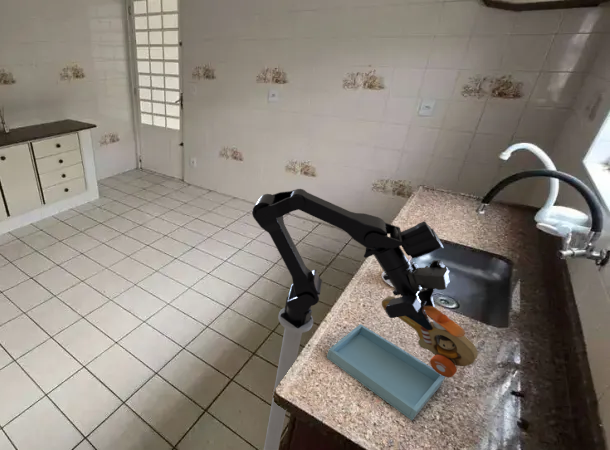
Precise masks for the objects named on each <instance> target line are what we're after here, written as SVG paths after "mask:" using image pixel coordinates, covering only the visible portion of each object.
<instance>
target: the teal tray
mask: <svg viewBox="0 0 610 450" xmlns="http://www.w3.org/2000/svg"><path fill="white" fill-rule="evenodd" d="M326 359H327V360H329V361H330V362H331V363H333V364H334V365H336V366H337V367H338V368H339V369H341V370H343V371H344V373H346V374H348V375H349V376H351V377H352V378H353V379H355V380H356V381H358V382H359V383H360V384H362V385H363V386H364V387H365V388H367V389H368V390H370V391H371V392H372V393H374V394H375V395H377V396H378V397H379V398H380V399H382V400H383V401H384V402H385V403H388V404H389V405H390V406H391V407H392V408H394V409H396V410H397V411H398V412H400V413H401V414H402V415H404V416H405V417H407V419H409V420H410V421H413V420H414V419H415V418H416V417H417V416H418V414H419V413H420V412H421V410H422V409H423V408H424V407H425V405H426V404H428V402H429V401H430V399H431V398H432V397H433V396H434V394H435V393H436V392H437V390H438V389H439V388H440V387H441V386H442V384H443V382H444V380H445V378H446V377H445V376H443V375H441V374H439V373H438V372H436V371H435V370H434V369H433V367H432V366H431V365H429V364H427V363H425V362H424V361H423V360H421V359H419V358H417V357H416V356H414V355H412V354H411V353H410V352H408V351H406V350H405V349H403V348H401V347H399V346H397V345H396V344H394V343H393V342H391V341H390V340H388V339H387V338H385V337H383V336H381V335H379V334H378V333H376V332H375V331H373V330H372V329H369V328H368V327H367V326H365V325H363V324H361V323H359V324H358V325H356V326H355V328H353V329H352V330H351V331H350V332H348V333H347V334H346V335H344V337H342V338H341V339H340V340H338V341H337V342H336V343H335V344H333V345H332V346H331V347H330V348H328V351H327V354H326Z"/></svg>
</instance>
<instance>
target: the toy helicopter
mask: <svg viewBox="0 0 610 450" xmlns="http://www.w3.org/2000/svg"><path fill="white" fill-rule="evenodd" d="M394 298H396V297H395V296H391V295H389V296H386V297H385V298H383V299H382V300H381V306H382V308H383V310H384V311H385V309H386V306H387V305H388V303H389V302H390V301H391V299H394ZM424 310H425V312H426V314H427V316H428V318H430V317H431V318H432V319H433V320H432V319H431V318H430V319H431V320H432V321H430V323H431V325H432V327H433V329H432V330H427V329H425V328H424V327H422V326H421V325H419V324H418V323H416V322H415V321H413V320H412V319H410V318H408V317H407V316H401V317H397V318H398V319H400V320H401V321H402V322H404V323H405V324H406V325H407V326H409V327H410V328H412V329H413V330H414V331H415V332H416V333H417V336H418V340H417V343H418V345H419V347H420V348H422V349H424V350H427V351H429V352H430V353H431V354H433V356H432V357H431V358H430V360H429V364H430V367H432V368H433V369H434V370H435V371H436V372H438V373H439V374H441V375H443V376H445V378H452V377H454V376H455V374H456V373H457V372H458V368H457V367H469V366H471V365H472V364H473V363H474V362H475V361H476V360H477V358H478V356H479V352H478V348H477V347H476V345H475V344H474V343H473V342H472V341H471V340H470V338H468V337H467V336H466V330H465V329H464V328H462V327H461V326H460V325H459V324H458V323H456V322H455V321H454V320H453V319H452V318H451V317H449V316H448V315H447V314H445V313H443V312H442V311H441V310H439V309H438V308H436V306H435V307H433V306H425V307H424Z"/></svg>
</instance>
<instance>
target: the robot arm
mask: <svg viewBox="0 0 610 450" xmlns="http://www.w3.org/2000/svg"><path fill="white" fill-rule="evenodd" d="M295 211H301V212H303V213H305V214H307V215H309V216H312V217H313V218H315V219H316V218H317V219H318V220H320V221H323V222H324V223H327V224H328V225H332V226H333V227H335V228H338V229H340V230H342V231H344V232H345V233H346V234H348V236H350V237H351V238H352V239H353V240H354V241H355V242H356V243H358V244H360V245H361V246H363V247H364V248H365V252H364V254H363V258H365V259H366V258H369V257H372V256H374V258H375V260H376V261H377V263H378V264H379V266H380V268H381V269H382V272H385V275H384V276H383V278H384V279H385V280H390V282H391V283H392V285H393V287H392V288H394V289H393V290H392V293H393V296H394V297H395V296H399V297H395V298H394V299H391V301H390V302H389V303H388V305H387V306H386V309H385V310H384V311H385V313H386V314H387V316H388V318H390V319H396V318H398V317H401V316H407V317H408V318H410V319H412V320H413V321H415V322H416V323H418V324H419V325H421V326H422V327H424V328H425V329H427V330H432V329H433V327H432V325H431V323H430V322H431V321H430V319H431V320H432V321H433V319H432V318H431V317H429V316H428V315H427V314H426V312H425V310H424V307H425V306H433V307H435V308H436V305H435V302H434V297H433V294H434V292H435V290H437V291H442V290H443V291H444V290H447V288H448V285H449V284H450V282H451V281H450V277H449V273H450V269H449V268H448V266H446V265H445V264H444V262H443V261H442V260H441V259H439V260H438V259H433V260H431V262H430V265H429V266H428V265H425V266H424V267H420V266H419V265H418V264H417V263H416V262H414V261H411V262H410V261H409V259H408V257H409V256H410V257H411V258H412V259H417V258H420V257H422V256H425V255H428V254H430V253H433V252H436V251H438V250H439V251H440V250H442V249H444V245H443V243H442V241H441V240H440V237H439V236H438V235H437V233H436V230H434V228H431V226H430V225H429V224H427V222H426V221H421V222H419V223H417V224H416V225H413V226H411V227H409V228H407V229H404V230H401V227H400V226H397V225H394V224H391V223H388V222H385V221H384V219H383V218H381V217H378V216H376V215H375V216H374V215H372V214H369V213H363V212H362V213H361V212H354V211H350V210H349V209H346V208H343V207H341V206H339V205H336V204H334V203H332V202H330V201H329V200H325V199H323V198H320V197H319V196H316V195H314V194H312V193H310V192H307V191H306V190H305V189H303V188H296V189H293V190H290V191H289V190H288V191H279V192H277V193H273V194H271V193H265V194H263V195H261V196H260V197H259V198H258V200H257V201H256V203H255V204H254V206H253V207H252V212H251V215H252V218H253V219H254V220H255V222H256V223H257V224H258V225H259V227H260V228H261V229H262V230H264V231H265V232H267V233H268V235H269V236H270V238H271V240H272V242H273V244H274V246H275V248H276V249H277V251H278V253H279V256H280V257H281V259H282V261H283V263H284V265H285V267H286V268H287V271H288V272H289V274H290V276H291V279H292V284H291V285H290V289H289V293H288V296H286V298H285V305H284V308H285V310H284V312H283V313H282V314H281V315H280V316H281V317H282V318H283V319H285V320H286V321H288V322H289V323H290V324H292V325H293V326H295V327H296V328H300V327H301V326H303V325H305V324H307V323H308V322H310V320H311V319H312V318H313V316H312V313H313V310H312V307H313V306H315V305H318V303H319V301H320V295H321V290H322V283H323V279H322V278H321V277H320V276H319V274H318V270H317V269H313V270H310V269H309V268H308V267H307V266H306V264H305V262H304V260H303V258H302V256H301V253H300V252H299V249H298V248H297V246H296V245H295V242H294V240H293V239H292V237H291V235H290V233H289V231H288V229H287V227H286V225H285V221H284V216H286V215H287V214H290V213H292V212H295ZM388 235H389V236H388ZM401 247H402V248H401ZM407 256H408V257H407ZM383 278H382V279H383ZM311 316H312V317H311ZM297 326H298V327H297Z"/></svg>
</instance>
